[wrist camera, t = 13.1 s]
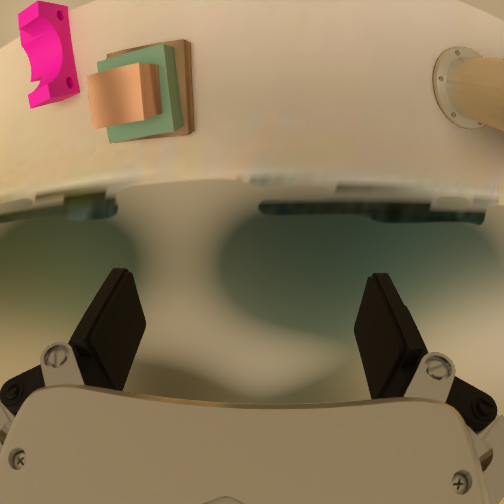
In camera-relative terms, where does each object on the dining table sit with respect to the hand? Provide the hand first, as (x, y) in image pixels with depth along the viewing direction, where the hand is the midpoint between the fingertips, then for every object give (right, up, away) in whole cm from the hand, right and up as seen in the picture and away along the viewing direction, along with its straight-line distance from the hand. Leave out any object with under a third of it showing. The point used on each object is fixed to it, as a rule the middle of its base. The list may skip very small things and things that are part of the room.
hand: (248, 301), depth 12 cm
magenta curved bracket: (-28, +31, +18) cm, 45 cm away
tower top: (-12, +21, +19) cm, 31 cm away
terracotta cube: (-12, +19, +16) cm, 27 cm away
